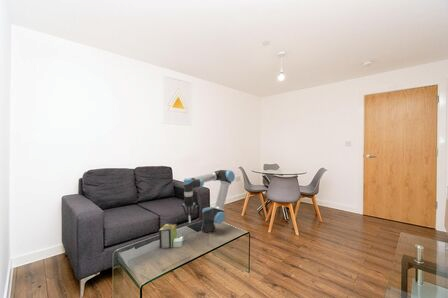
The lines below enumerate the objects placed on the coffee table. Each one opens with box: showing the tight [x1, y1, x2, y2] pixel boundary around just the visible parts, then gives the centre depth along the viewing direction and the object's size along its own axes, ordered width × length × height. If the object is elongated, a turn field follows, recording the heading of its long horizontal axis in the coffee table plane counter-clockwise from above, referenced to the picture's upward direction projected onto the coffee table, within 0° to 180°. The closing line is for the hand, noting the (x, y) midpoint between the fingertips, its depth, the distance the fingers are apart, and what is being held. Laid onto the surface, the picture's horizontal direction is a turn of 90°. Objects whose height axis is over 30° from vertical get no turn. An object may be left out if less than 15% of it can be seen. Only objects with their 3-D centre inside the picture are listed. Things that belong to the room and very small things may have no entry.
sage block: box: [172, 237, 184, 248], centre depth 180 cm, size 7×7×5 cm
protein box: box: [158, 223, 178, 249], centre depth 183 cm, size 10×15×16 cm
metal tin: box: [177, 234, 186, 243], centre depth 189 cm, size 6×6×4 cm
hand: (189, 222), depth 182 cm, fingers closed
